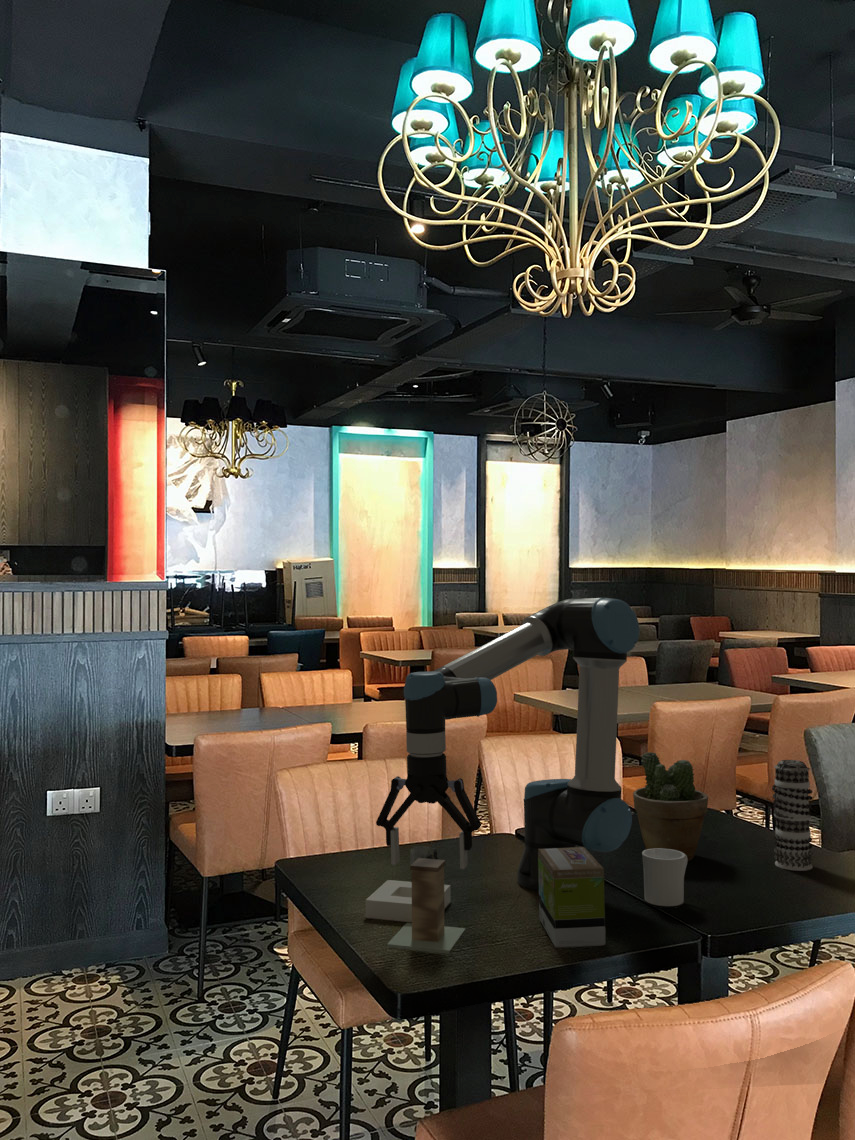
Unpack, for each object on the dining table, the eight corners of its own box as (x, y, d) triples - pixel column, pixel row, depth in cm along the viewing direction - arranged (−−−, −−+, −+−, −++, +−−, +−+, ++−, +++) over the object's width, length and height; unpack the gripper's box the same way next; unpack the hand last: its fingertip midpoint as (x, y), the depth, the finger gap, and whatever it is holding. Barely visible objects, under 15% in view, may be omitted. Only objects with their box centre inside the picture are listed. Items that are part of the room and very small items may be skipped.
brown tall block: (445, 932, 180) (445, 860, 180) (438, 942, 175) (437, 867, 175) (418, 929, 182) (418, 858, 182) (410, 939, 176) (410, 865, 177)
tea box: (537, 921, 188) (536, 846, 189) (586, 919, 189) (585, 845, 190) (553, 948, 173) (553, 868, 174) (607, 946, 174) (606, 866, 175)
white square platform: (450, 904, 199) (450, 885, 199) (432, 926, 185) (432, 905, 185) (387, 898, 203) (387, 879, 203) (365, 919, 189) (365, 899, 189)
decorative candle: (772, 869, 223) (770, 763, 224) (773, 858, 232) (772, 757, 233) (813, 873, 220) (812, 765, 221) (813, 862, 229) (811, 759, 229)
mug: (662, 912, 193) (661, 861, 193) (633, 900, 201) (633, 851, 201) (702, 904, 198) (701, 854, 198) (672, 892, 206) (672, 845, 206)
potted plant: (718, 852, 238) (716, 753, 239) (696, 870, 222) (695, 764, 223) (648, 843, 248) (646, 748, 249) (622, 859, 232) (621, 758, 233)
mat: (465, 931, 182) (465, 928, 182) (449, 953, 171) (449, 950, 171) (406, 925, 186) (406, 922, 186) (387, 947, 174) (387, 944, 174)
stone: (448, 842, 210) (408, 836, 215) (434, 880, 203) (393, 874, 207) (458, 867, 216) (419, 862, 220) (445, 905, 209) (404, 899, 213)
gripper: (494, 751, 179) (497, 862, 179) (371, 748, 186) (374, 855, 186) (485, 758, 172) (488, 874, 172) (358, 755, 179) (361, 866, 179)
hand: (429, 865), depth 179 cm, fingers open, 13 cm apart
